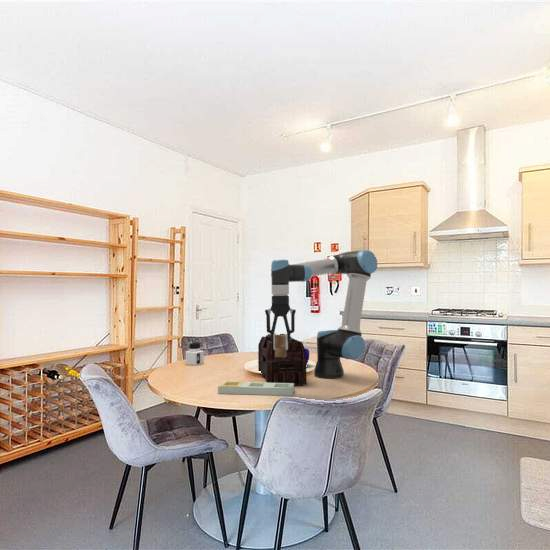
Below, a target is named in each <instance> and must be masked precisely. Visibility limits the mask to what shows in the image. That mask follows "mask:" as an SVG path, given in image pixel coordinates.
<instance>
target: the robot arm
mask: <svg viewBox="0 0 550 550" xmlns="http://www.w3.org/2000/svg"><path fill="white" fill-rule="evenodd" d="M377 270H378V259H377V256H376V255H375V254H374V253H373V251H371V250H369V249H360V250H353V251H347V252H342V253H339V254H334V255H331V256H328V257H327V258H324V259H318V260H311V261H307V262H300V263H294V264H290V263H289V260H288V259H274V260H272V261H271V268H270V271H271V272H270V273H271V274H270V275H271V276H270V277H271V294H272V295H271V306H270V308H268V309H265V310H264V312H265V315H266V316H265V317H266V318H265V319H266V332H267V334H271V341H274V350H275V335H277V333H275V331H276V327H277V321H278V318H279V317H282V318H283V321H284V326H285V330H286V333H284V334H285V336H286V350H288V342H290V336H291V334H293V333H295V331H296V330H295V325H296V324H295V322H296V321H295V319H296V317H295V315H296V311H297V310H296V309H293V308H291V306H290V296H289V294H290V284H289V283H294V282H298V283H299V282H302V283H304V282H308V281H310V280H311V278H312V277H317V276H321V275H327V274H330V275H332V276H333V275H346V277H348V284H347V290H346V296H345V302H344V304H345V305H344V307H343V308H344V310H343V315H342V322H341V326H339V327H338V328H337V329H331V330H320V331H318V332H317V335H316V352H317V355H316V359H317V360H316V364H315V367H314V371H313V375H314V376H315V377H316V378H322V379H339V378H340V379H341V378H343V377H344V376H345V370H344V368H343V364H342V362H341V358H342V359H345V360H357V359H359V358H360V357H361V356H362V355H363V353H364V351H365V348H366V342H365V340H364V339H365V338H363V337H362V331H361V330H360V326H361V320H362V314H363V313H362V312H363V307H364V300H365V296H366V295H365V293H366V289H367V288H366V287H367V282H368V281H370V279H371V277H372V274H373V273H375V272H376V271H377ZM271 312H272V313H273V315H274V316H273V321H272V326H271ZM289 312H290V314H291V317H290V324H289V320H288V316H287V315H288V313H289Z"/></svg>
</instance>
